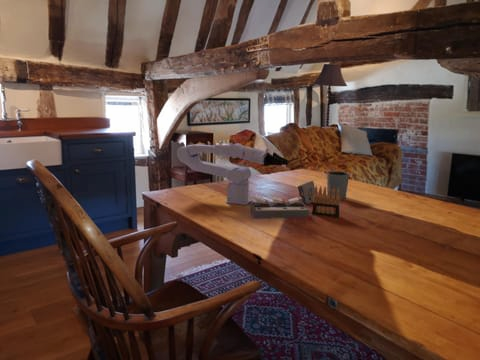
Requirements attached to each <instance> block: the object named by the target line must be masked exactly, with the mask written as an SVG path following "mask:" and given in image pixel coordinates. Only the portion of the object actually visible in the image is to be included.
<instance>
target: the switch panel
mask: <svg viewBox="0 0 480 360" xmlns="http://www.w3.org/2000/svg"><path fill="white" fill-rule="evenodd" d="M268 202H269V203H268V204H264V203H263V204H261V203H260V202H256V201H253V202H252V201H250V210H251V214H252V217H253V219H294V218H295V219H296V218H297V219H298V218H299V219H301V218H302V219H303V218H310V209H309V208H308V207H307V206H306V204H305V203H303V202H301V201H300V202H298V203H293V204H290V203H289V201H285V202H286V203H285V204H282V203H279V204H278V202H274V201H268Z"/></svg>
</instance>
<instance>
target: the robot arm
mask: <svg viewBox="0 0 480 360" xmlns="http://www.w3.org/2000/svg"><path fill="white" fill-rule="evenodd" d="M269 150H270V149H269V148H265V150H264V149H258V148H255V147H251V146H246V145H243V144H242V143H238V142H236V143H234V144H233V142H229V143H226V142H225V143H224V142H223V141H219V142H216V143H215V144H214V145H212V144H211V145H210V144H209V145H208V144H202V143H201V144H200V143H196V144H189V145H185V146H180V147H178V148H177V150H176V156H177V159H178V160H179V161H180V162H181V163H184V164H185V165H186V166H187V167H188V168H190V169H191V170H192V171H196V172H199V173H204V174H209V175H212V176H218V177H222V178H226V180H228V181H229V182H228V183H227V185H226V201H225V203H227V204H233V205H242V206H247V205H248V204H249V203H251V202H252V199H249V195H250V194H249V184H250V183H249V179H250V178H251V176H252V173H251V170H250V168H249V167H247V166H245V165H244V166H228V165H222V164H219V163H213V162H210V161H209V162H208V161H206V160H205V161H204V160H201V156H200V153H201V154H202V153H203V154H204V153H206V154H207V153H209V154H211V153H213V154H214V155H215V156H217V157H229V158H230V157H231V158H232V159H237V158H238V159H243V160H245V161H249V162H254V163H256V164H257V163H258V164H261V165H263V166H264V167H266V166H278V167H279V166H280V167H281V166H288V161H289V160H288V159H287V158H284V157H282V156H281V155H279V154H277V152H275V151H274V152H273V153H272V154H271V153H270V152H269Z"/></svg>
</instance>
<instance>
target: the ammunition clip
mask: <svg viewBox="0 0 480 360" xmlns="http://www.w3.org/2000/svg"><path fill="white" fill-rule="evenodd" d="M340 204H341V200H340V189H339V188H338V190H337V196H336V200H335V188H333V191H332V197H331V190H330V187H329V189H328V194H327V187H326V186H324V187H323V189H322V186H321V185H320V186H319V190H318V186H317V185H315V191H314V198H313V202H312V211H311V214H312V215H313V216H321V217H328V218H329V217H330V218H331V217H332V218H336V219H337V218H338V219H339V218H340Z"/></svg>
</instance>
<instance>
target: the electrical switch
mask: <svg viewBox="0 0 480 360" xmlns="http://www.w3.org/2000/svg"><path fill="white" fill-rule="evenodd" d="M315 187H316V185H315V182H314V180H309V181H307V182H304V183H302V184H299V185H298V186H297V189H298V194H299V195H298V196H299V197H301V198H302V200H303V201H300V202H303V203H304V204H305V205H309V204H313V198H314V191H315Z"/></svg>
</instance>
